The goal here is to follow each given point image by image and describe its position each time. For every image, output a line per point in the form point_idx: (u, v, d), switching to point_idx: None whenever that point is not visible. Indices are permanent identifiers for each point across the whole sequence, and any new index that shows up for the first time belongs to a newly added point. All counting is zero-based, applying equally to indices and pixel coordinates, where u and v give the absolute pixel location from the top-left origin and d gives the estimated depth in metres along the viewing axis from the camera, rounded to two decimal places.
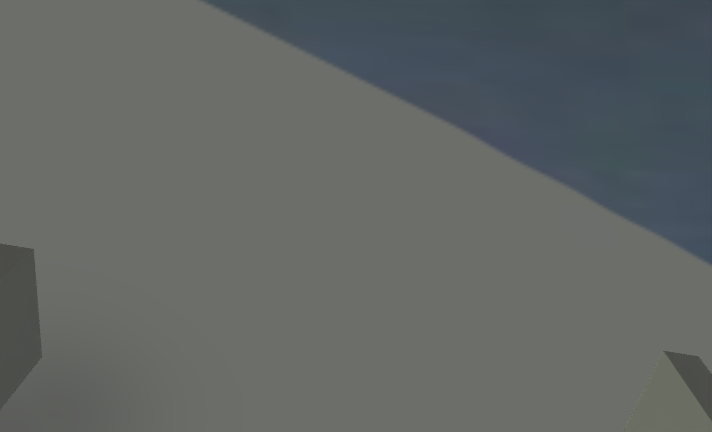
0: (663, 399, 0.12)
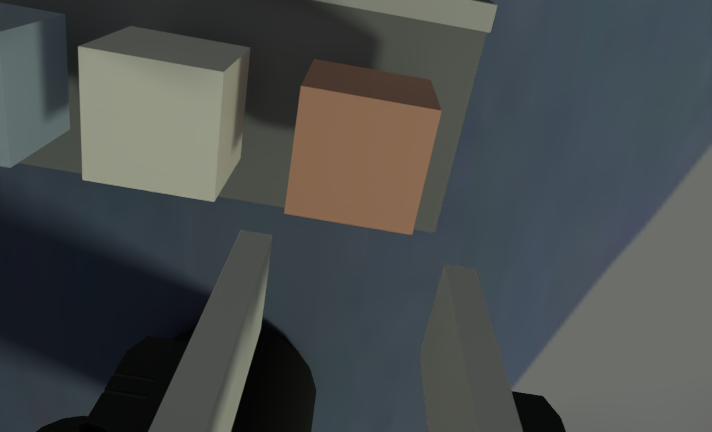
0: (439, 304, 0.14)
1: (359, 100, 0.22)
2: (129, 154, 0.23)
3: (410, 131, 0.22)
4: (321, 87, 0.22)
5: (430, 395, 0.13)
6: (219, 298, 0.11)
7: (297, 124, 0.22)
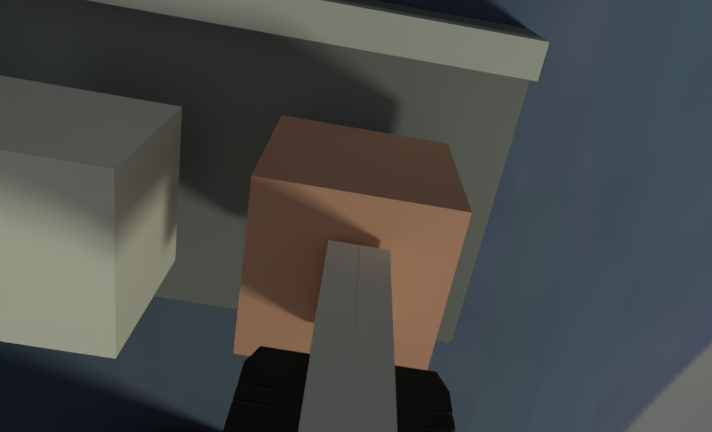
0: None
1: (343, 197, 0.14)
2: None
3: (422, 242, 0.14)
4: (284, 176, 0.14)
5: None
6: (327, 309, 0.12)
7: (248, 231, 0.14)
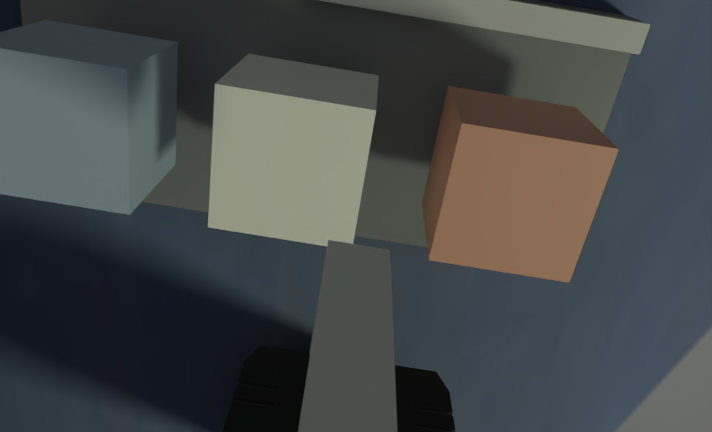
0: None
1: (526, 138, 0.19)
2: (262, 200, 0.21)
3: (580, 171, 0.20)
4: (482, 124, 0.19)
5: None
6: (327, 309, 0.12)
7: (453, 164, 0.20)
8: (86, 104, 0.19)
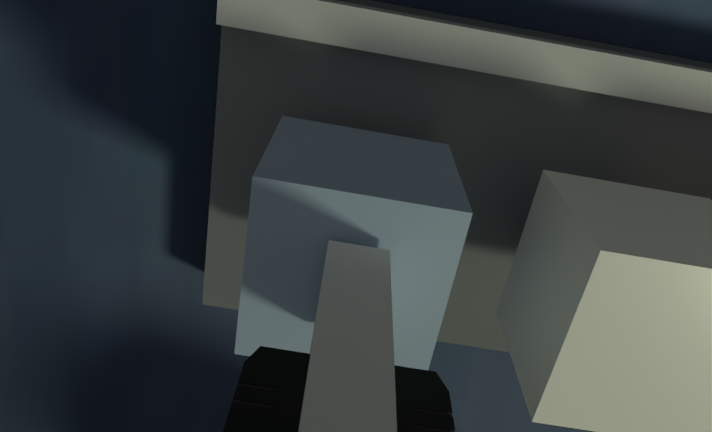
0: None
1: None
2: (619, 391, 0.15)
3: None
4: None
5: None
6: (327, 309, 0.12)
7: None
8: (403, 255, 0.14)
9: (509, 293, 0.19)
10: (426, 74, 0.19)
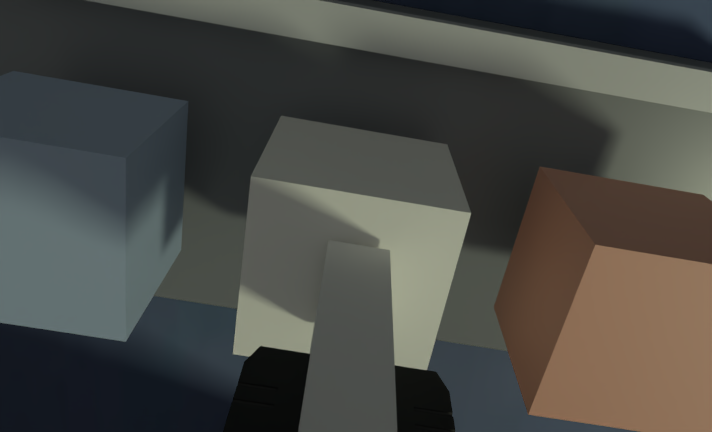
0: None
1: (684, 265, 0.14)
2: (307, 322, 0.15)
3: None
4: (621, 244, 0.14)
5: None
6: (327, 309, 0.12)
7: (577, 298, 0.14)
8: (67, 203, 0.14)
9: None
10: (177, 29, 0.19)
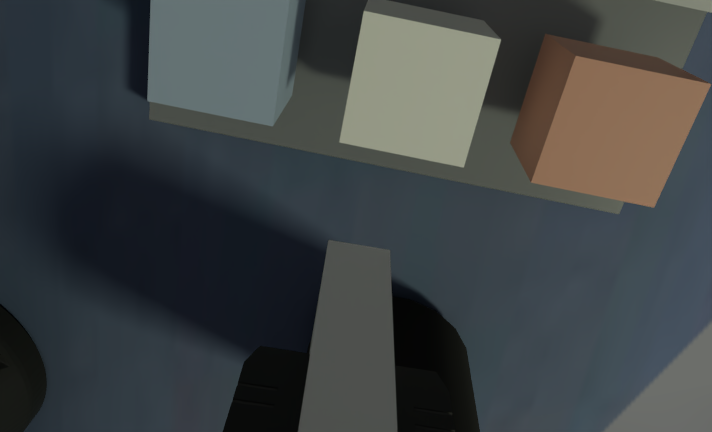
0: None
1: (631, 71, 0.22)
2: (390, 118, 0.24)
3: (675, 104, 0.22)
4: (592, 58, 0.22)
5: None
6: (326, 309, 0.12)
7: (564, 94, 0.23)
8: (249, 25, 0.23)
9: None
10: None
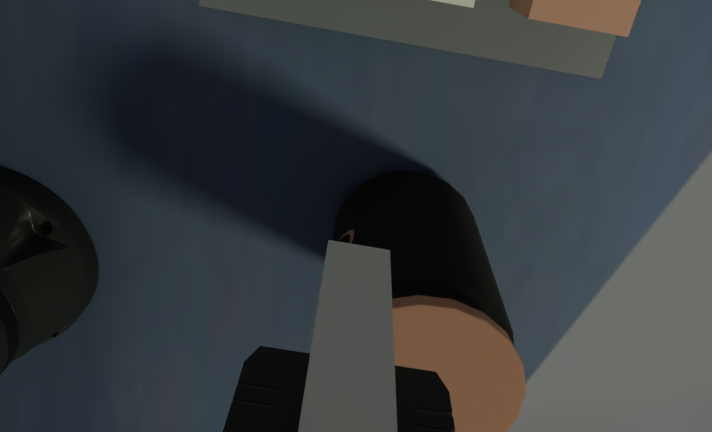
0: None
1: None
2: None
3: None
4: None
5: None
6: (327, 309, 0.12)
7: None
8: None
9: None
10: None
